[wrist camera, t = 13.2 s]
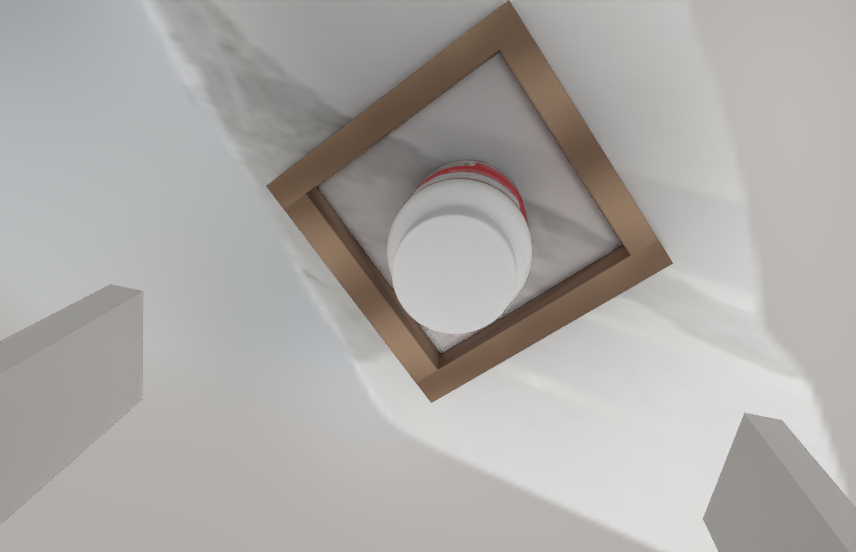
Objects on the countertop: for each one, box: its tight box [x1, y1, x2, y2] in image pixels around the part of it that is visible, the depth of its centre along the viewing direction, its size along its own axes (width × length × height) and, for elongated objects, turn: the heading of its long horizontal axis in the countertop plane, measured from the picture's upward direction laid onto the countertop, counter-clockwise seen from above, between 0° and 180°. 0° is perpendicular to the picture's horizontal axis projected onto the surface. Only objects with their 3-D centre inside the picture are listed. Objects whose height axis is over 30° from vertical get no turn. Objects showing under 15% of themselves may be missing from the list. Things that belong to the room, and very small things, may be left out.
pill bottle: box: [387, 160, 532, 334], centre depth 27 cm, size 6×6×11 cm
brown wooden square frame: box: [267, 1, 673, 403], centre depth 31 cm, size 15×15×2 cm
